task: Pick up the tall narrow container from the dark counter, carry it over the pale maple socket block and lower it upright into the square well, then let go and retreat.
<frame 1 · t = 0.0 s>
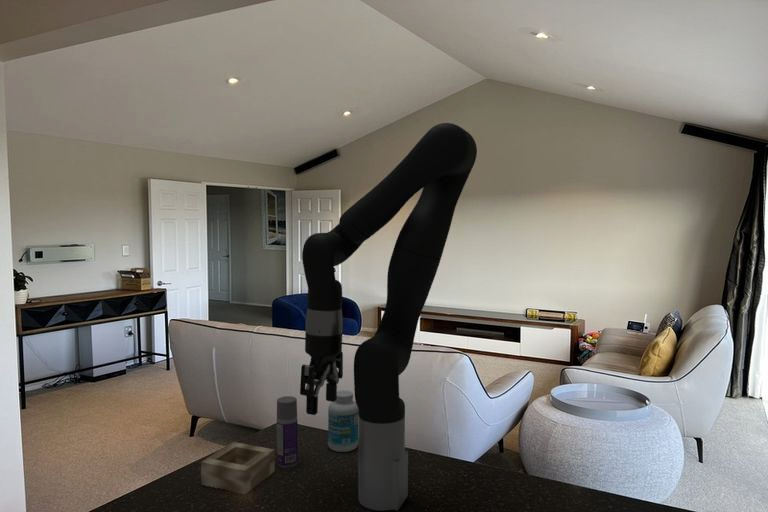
hand: (321, 407, 113), 17 cm above the counter, tool pointing down, fingers open, 8 cm apart
pill bottle: (343, 447, 134), on the counter
socket block: (239, 477, 118), on the counter
container: (287, 464, 125), on the counter
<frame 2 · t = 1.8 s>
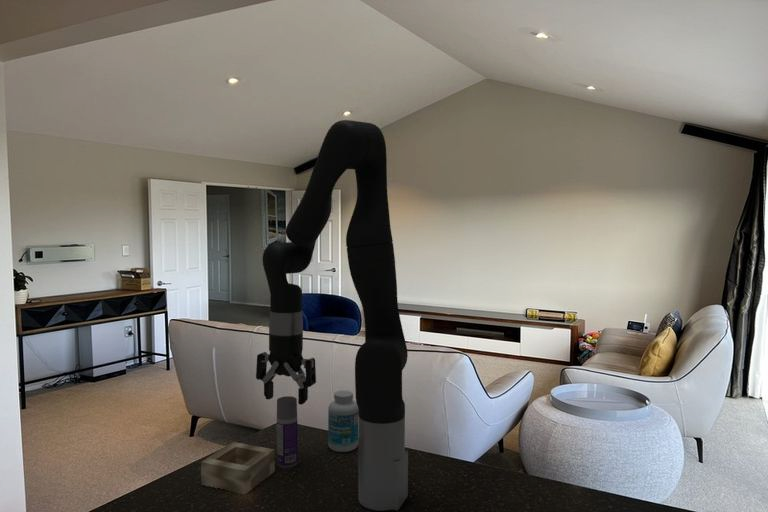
hand: (285, 400, 124), 15 cm above the counter, tool pointing down, fingers open, 8 cm apart
nothing on the counter moved.
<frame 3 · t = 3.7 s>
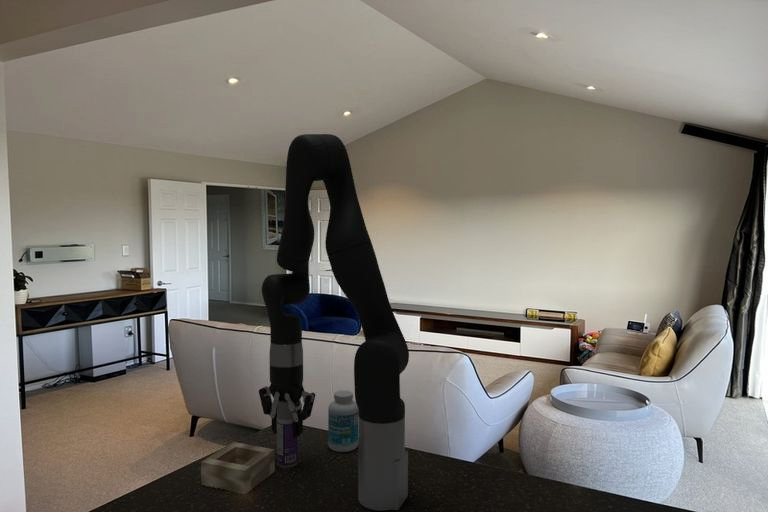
hand: (287, 434, 125), 7 cm above the counter, tool pointing down, fingers closed on container, 4 cm apart
container: (287, 464, 125), on the counter, touching gripper
everything else where it was.
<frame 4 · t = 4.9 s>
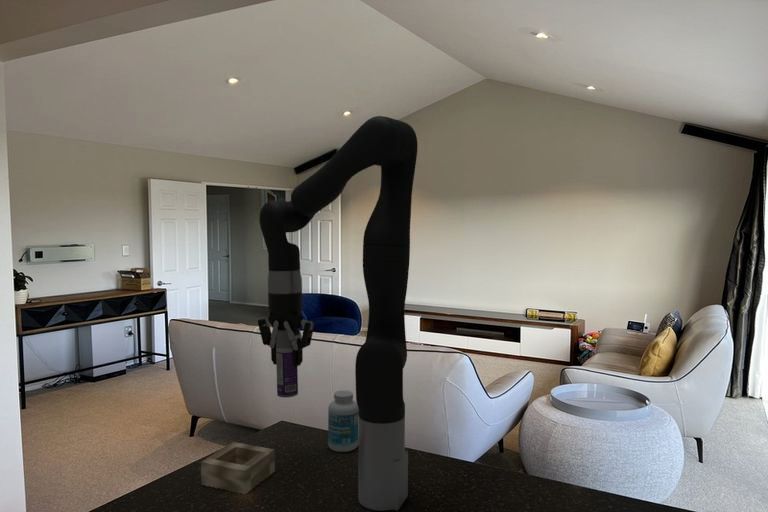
hand: (286, 364, 124), 23 cm above the counter, tool pointing down, fingers closed on container, 4 cm apart
container: (287, 395, 124), point 16 cm above the counter, touching gripper
everything else where it was.
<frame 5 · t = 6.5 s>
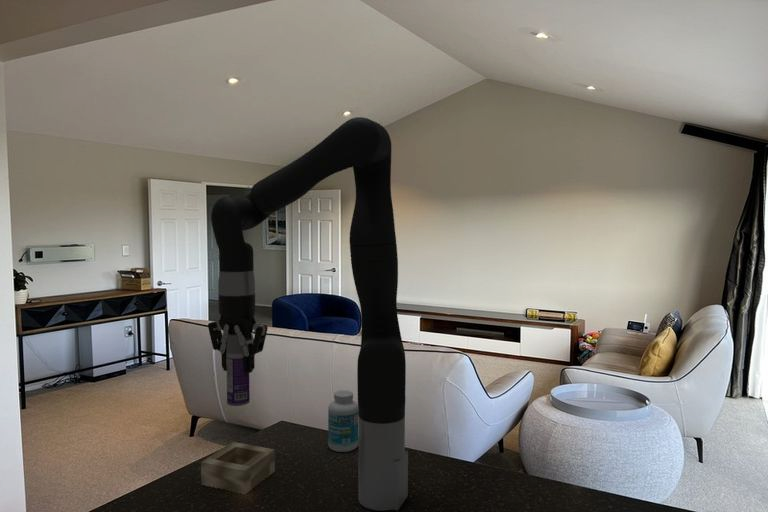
hand: (237, 370, 116), 24 cm above the counter, tool pointing down, fingers closed on container, 4 cm apart
container: (238, 403, 117), point 17 cm above the counter, touching gripper
everything else where it was.
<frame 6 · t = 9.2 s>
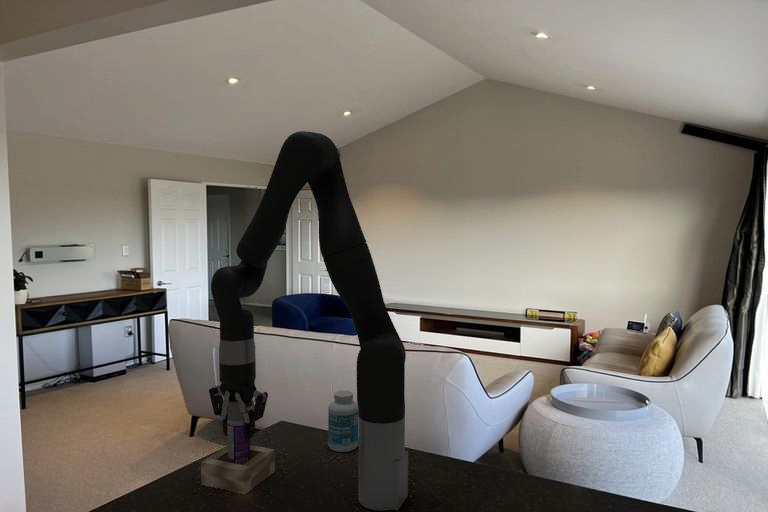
hand: (238, 436, 117), 9 cm above the counter, tool pointing down, fingers closed on container, 4 cm apart
container: (239, 468, 118), point 2 cm above the counter, touching gripper
everything else where it was.
when the fingers open (9 cm above the counter, at t = 9.5 s): container drops 2 cm, resting on socket block.
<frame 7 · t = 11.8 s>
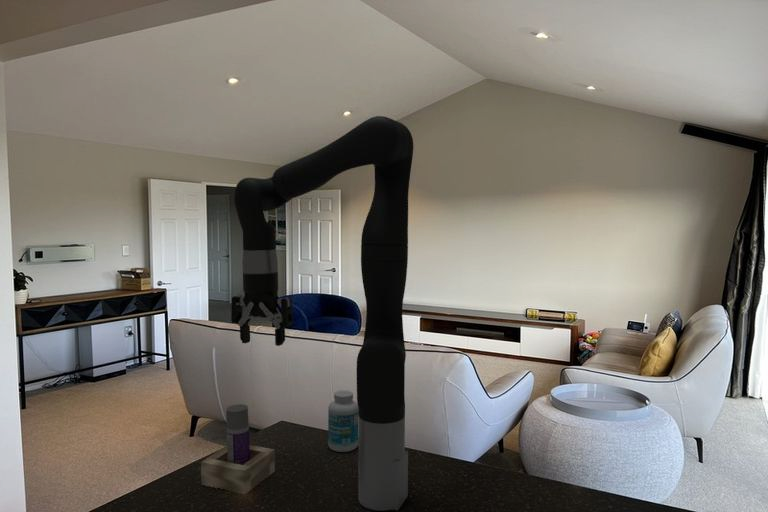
hand: (262, 343, 120), 29 cm above the counter, tool pointing down, fingers open, 8 cm apart
container: (239, 476, 118), resting on socket block
everything else where it was.
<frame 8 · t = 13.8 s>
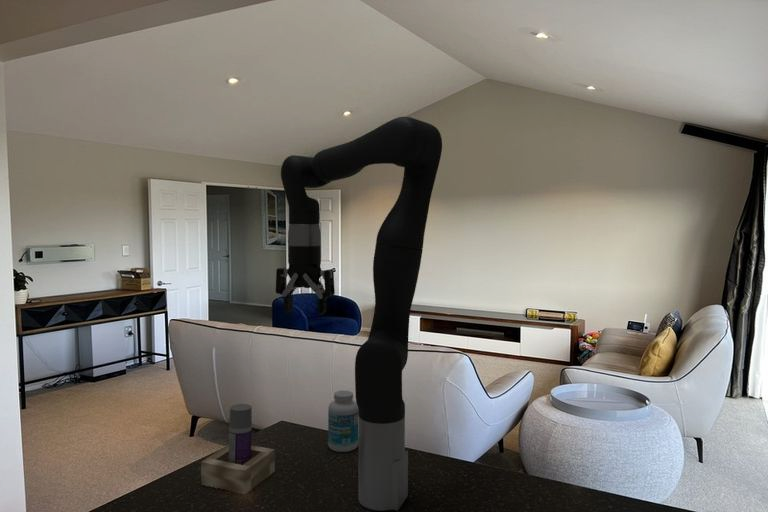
hand: (304, 313, 127), 34 cm above the counter, tool pointing down, fingers open, 8 cm apart
nothing on the counter moved.
at the end: container 0.1 cm off-centre on the socket block, point 0.4 cm above the socket block's base; container tilted 2°; the gripper is holding nothing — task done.
